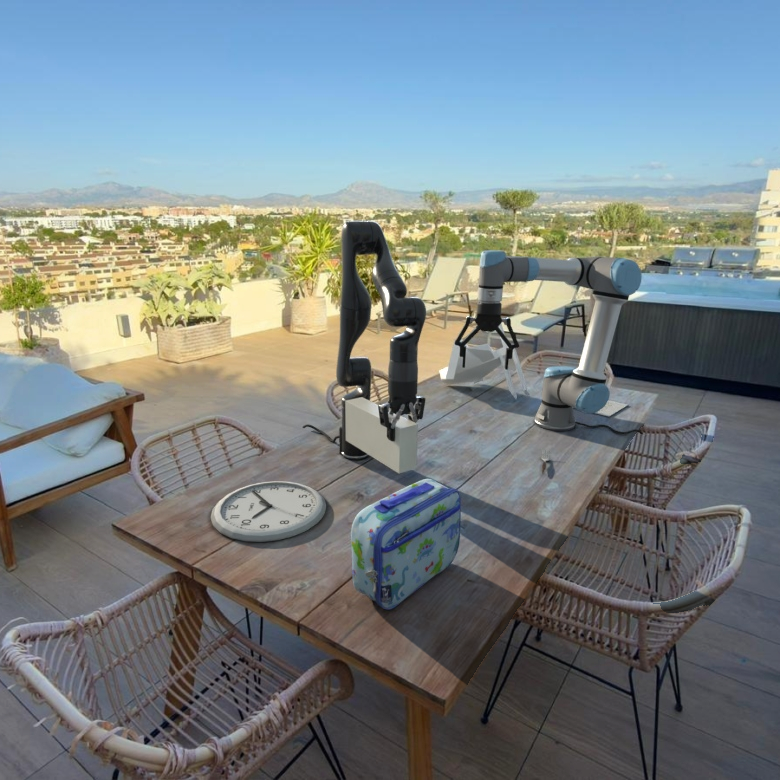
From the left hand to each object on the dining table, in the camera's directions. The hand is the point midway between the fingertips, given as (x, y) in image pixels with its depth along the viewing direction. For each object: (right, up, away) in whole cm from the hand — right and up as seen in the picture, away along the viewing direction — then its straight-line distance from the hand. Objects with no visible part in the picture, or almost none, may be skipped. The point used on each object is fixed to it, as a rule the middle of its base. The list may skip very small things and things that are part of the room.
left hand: (401, 437), depth 138 cm
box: (-6, -5, +10) cm, 13 cm away
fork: (+47, -12, +31) cm, 58 cm away
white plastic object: (+39, +11, +105) cm, 113 cm away
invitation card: (+89, +5, +88) cm, 125 cm away
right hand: (+28, +20, +31) cm, 46 cm away
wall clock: (-35, -20, +2) cm, 40 cm away
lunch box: (+1, -29, -25) cm, 38 cm away
